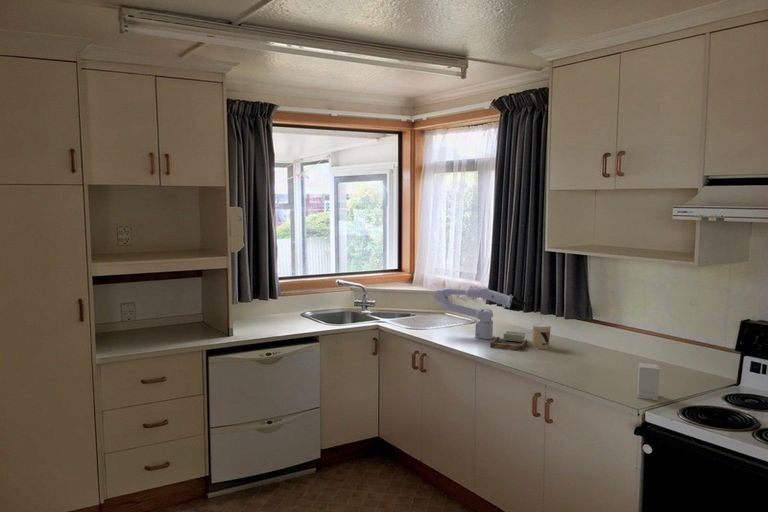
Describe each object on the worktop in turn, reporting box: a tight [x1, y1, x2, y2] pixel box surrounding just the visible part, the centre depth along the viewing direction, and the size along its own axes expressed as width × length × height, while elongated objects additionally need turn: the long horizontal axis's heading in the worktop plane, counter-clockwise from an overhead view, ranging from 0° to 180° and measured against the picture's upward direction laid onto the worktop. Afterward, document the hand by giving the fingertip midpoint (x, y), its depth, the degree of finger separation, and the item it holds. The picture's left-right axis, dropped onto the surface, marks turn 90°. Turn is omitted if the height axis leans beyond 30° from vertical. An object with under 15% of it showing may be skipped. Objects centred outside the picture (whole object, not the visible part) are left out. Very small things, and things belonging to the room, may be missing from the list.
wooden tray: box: [489, 336, 528, 351], centre depth 323 cm, size 16×15×2 cm
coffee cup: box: [532, 323, 552, 350], centre depth 320 cm, size 9×9×12 cm
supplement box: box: [636, 362, 660, 401], centre depth 241 cm, size 7×7×13 cm
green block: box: [503, 330, 526, 343], centre depth 335 cm, size 10×8×4 cm
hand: (524, 306), depth 335 cm, fingers open, 7 cm apart
